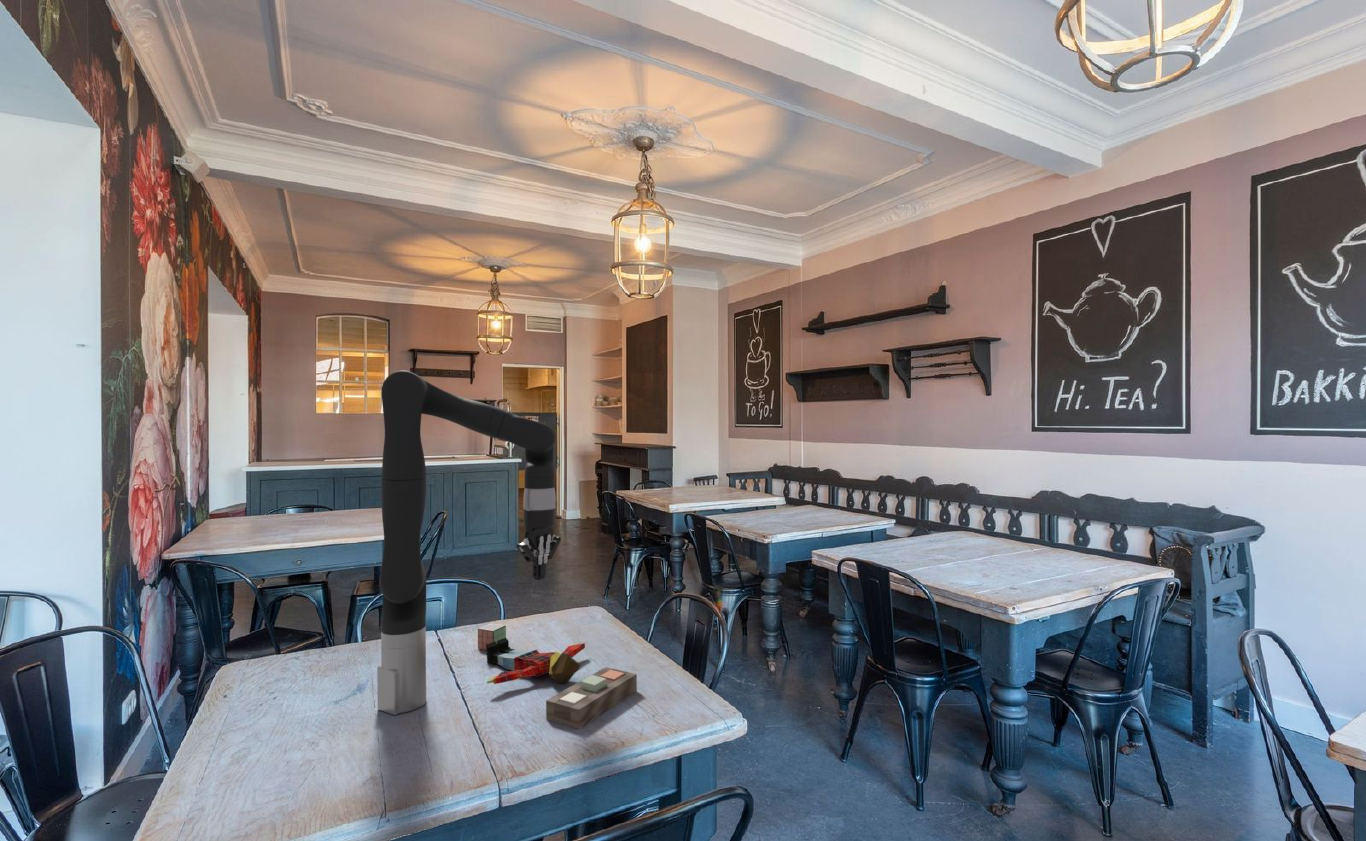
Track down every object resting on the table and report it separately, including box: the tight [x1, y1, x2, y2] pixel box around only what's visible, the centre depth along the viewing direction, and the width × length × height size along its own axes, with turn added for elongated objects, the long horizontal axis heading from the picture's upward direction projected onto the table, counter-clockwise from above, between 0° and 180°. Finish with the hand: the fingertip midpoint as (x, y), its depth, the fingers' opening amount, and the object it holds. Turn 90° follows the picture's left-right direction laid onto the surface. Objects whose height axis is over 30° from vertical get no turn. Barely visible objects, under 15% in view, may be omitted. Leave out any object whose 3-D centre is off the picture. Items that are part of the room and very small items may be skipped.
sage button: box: [580, 674, 606, 692], centre depth 141 cm, size 4×4×3 cm
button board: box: [545, 666, 638, 730], centre depth 141 cm, size 21×9×4 cm, turn 150°
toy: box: [485, 637, 586, 685], centre depth 160 cm, size 31×8×30 cm
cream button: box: [560, 692, 586, 705], centre depth 135 cm, size 4×4×3 cm
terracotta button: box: [600, 670, 624, 681], centre depth 147 cm, size 4×4×3 cm
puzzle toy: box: [477, 623, 507, 651], centre depth 179 cm, size 6×6×6 cm
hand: (539, 579), depth 150 cm, fingers closed
